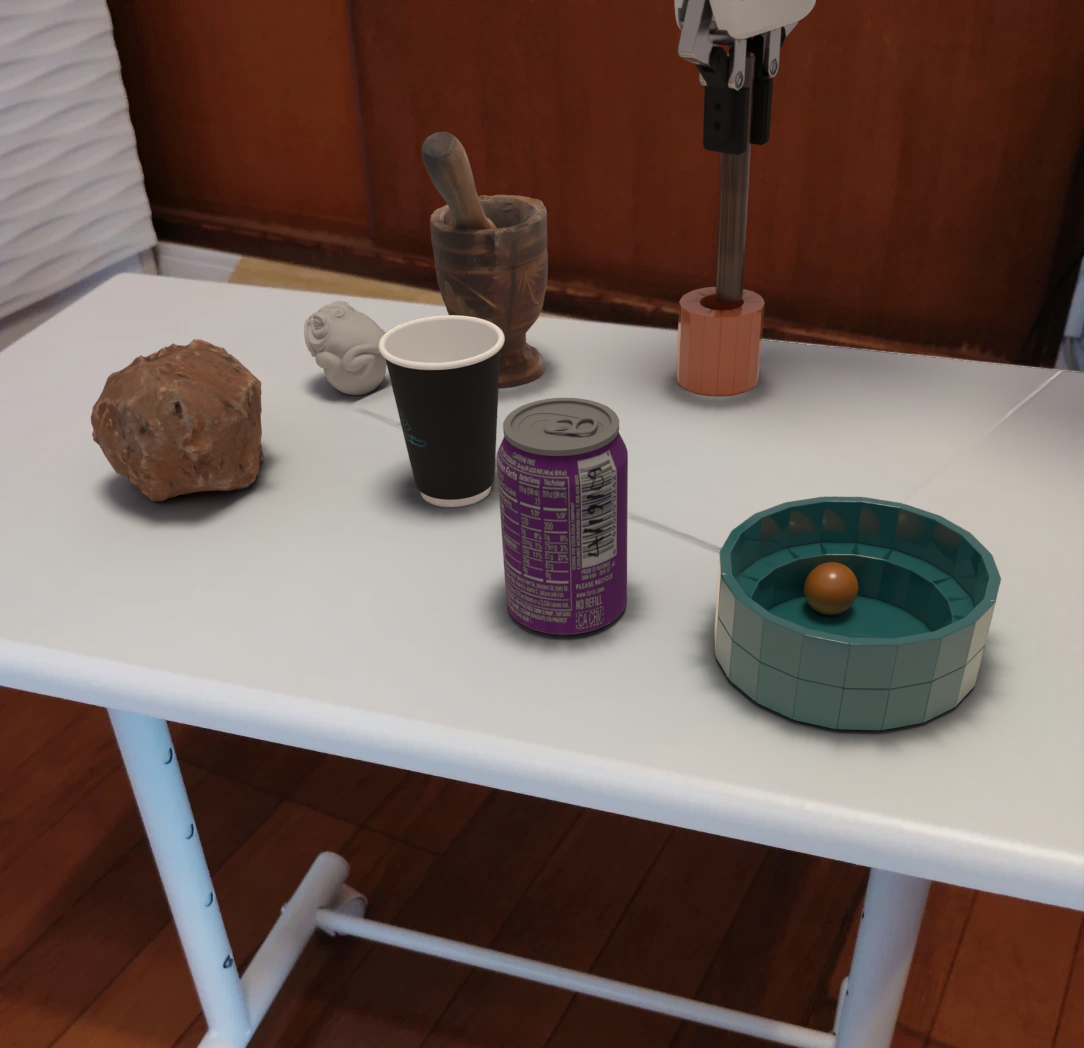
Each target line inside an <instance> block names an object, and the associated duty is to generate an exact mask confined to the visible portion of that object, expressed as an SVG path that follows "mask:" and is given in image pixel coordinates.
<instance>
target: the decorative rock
mask: <svg viewBox="0 0 1084 1048" xmlns="http://www.w3.org/2000/svg"><path fill="white" fill-rule="evenodd" d="M262 407H263V406H262V381H261V380H260V379H259V378H257V376H255V375H254V374H253V373H252V372H251V371H250V369H248V368H247V367H246V366H245V365H243V363H242V362H241V361H240V360H239V359H237V358H236V357H235V356H233V354H232V353H228V350H226V348H225V347H223V346H222V347H221V346H219V345H215V344H213V343H211V342H209V341H206V340H203V339H198V338H197V339H196V338H194V339H192V340H191V341H190V343H188V344H186V345H180V344H176V343H174V342H173V343H172V344H170V345H168V346H164V347H161V348H160V349H158V350H157V351H155V352H153V353H150V354H149V355H147V356H143V355H142V354H141V355H139V356H137V357H134V359H133V360H132V362H131V363H130V364H128V365H127V366H125V367H124V368H122V369H120V370H118V371H115V372H111V373H110V375H108V377H107V378H106V380H105V384H104V387H103V389H102V391H101V393H100V395H99V397H98V399H97V400H96V401H95V403H94V405H93V406H92V410H91V415H90V423H91V426H92V433H91V435H92V441H93V442H94V443H96V445H98V446H99V448H100V449H101V452H102V453H103V455H104V457H105V458H106V460H107V462H108V463H109V464H110V466H111V468H112V469H113V471H115V473H116V474H118V475H120V476H122V477H125V478H127V479H129V483H130V484H132V485H134V486H136V487H137V488H138V489H139V491H140V493H142V494H143V495H144V496H145V497H146V498H147V499H148V500H149V501H150V502H164V501H166V500H169V499H171V498H175V497H178V496H181V495H189V494H193V493H200V492H211V491H212V492H213V491H215V492H224V491H225V492H231V491H242V490H244V489H245V488H248V487H249V486H251V485H252V484H253V483H254V482H255V481H256V477H257V476H258V475H259V473H260V465H261V464H260V462H261V461H262V460H264V459H265V455H264V452H263V451H262V450H263V446H262V437H263V430H262V412H263V409H262Z"/></svg>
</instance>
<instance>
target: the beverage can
mask: <svg viewBox="0 0 1084 1048" xmlns="http://www.w3.org/2000/svg"><path fill="white" fill-rule="evenodd" d="M502 431H503V438H502V440H501V442H500V445H499V447H498V449H497V452H496V453H497V454H496V470H497V472H496V473H497V482H498V483H497V484H498V485H497V486H498V487H497V488H498V500H499V514H500V529H501V544H502V559H503V573H504V587H505V597H506V598H505V602H506V607H507V610H508V612H509V614H510V615H511V616H512V618H513V619H515V620H516V621H517V622H518V623H519V624H521V625H523V626H524V627H526V628H529V629H531V630H533V631H537V632H540V633H545V634H549V635H550V634H551V635H578V634H583V633H584V634H585V633H588V632H592V631H596V630H598V629H602V628H603V627H605V626H608V625H609V624H611V623H612V622H614V621H615V620H617V618H619V617H620V616H621V614H622V613H623V612H624V610H625V608H626V606H627V603H628V513H629V512H628V507H629V506H628V504H629V503H628V502H629V501H628V498H629V497H628V496H629V495H628V494H629V493H628V492H629V488H628V486H629V485H628V483H629V455H628V454H629V453H628V448H627V445H626V442H625V441H624V439H623V438H622V436H621V433H620V419H619V416H618V414H617V413H616V412H615V410H613V409H611V408H610V407H609V406H607V405H606V404H603V403H601V402H597V401H595V400H590V399H587V398H586V399H585V398H577V397H553V398H544V399H540V400H539V399H538V400H535V401H532V402H528V403H525V404H523V405H520V406H518V407H517V408H515V409H514V410H512V411H510V413H508V415H507V416H506V417H505V418H504V420H503V423H502Z"/></svg>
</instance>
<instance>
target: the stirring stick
mask: <svg viewBox="0 0 1084 1048" xmlns="http://www.w3.org/2000/svg"><path fill="white" fill-rule="evenodd" d="M727 55H728V57H729V52H728V53H727ZM754 74H755V54H754V53H751V52H746V61H745V79H744V84H743V86H742V87H747V88H750V96H749V115H748V135H747V149H746V151H745V152H744V153H742V154H740V155H734V154H728V153H721V152H720V161H719V162H720V164H719V165H720V166H719V188H718V193H719V195H718V215H717V216H718V219H717V241H716V244H717V246H716V267H715V268H716V271H715V287H716V292H715V299H716V300H717V301H719V302H722V303H735V302H739V301H741V300H742V298H743V289H744V277H745V259H746V244H747V243H746V241H747V225H748V203H749V188H750V187H749V186H750V169H751V167H750V166H751V147H752V144H751V131H752V112H753V93H754Z"/></svg>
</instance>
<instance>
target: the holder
mask: <svg viewBox="0 0 1084 1048" xmlns="http://www.w3.org/2000/svg"><path fill="white" fill-rule="evenodd" d="M715 292H716V286H707V287H701V288H697V289H693V290H691V291H688V292H687V293H685V294H683V295H682V297H681V298H680V300H679V302H678V321H677V322H678V323H677V325H678V326H677V351H676V352H677V354H676V381H677V383H678V385H679V386H680V387H681V388H682V389H683V390H686V391H687V392H690V393H692V394H695V395H701V396H706V397H731V396H736V395H737V396H738V395H741V394H744V393H746V392H749V391H751V390H752V389H754V388H755V387H756V386H757V384H758V382H759V379H760V369H761V357H762V356H761V355H762V343H763V333H764V318H765V306H766V303H765V300H764V298H763V297H762V295H760V294H758V293H757V292H755V291H753V290H749V289H745V288H743V298H742V300H741V301H739V302H735V303H722V302H719V301H717V300H716V299H715Z"/></svg>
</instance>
